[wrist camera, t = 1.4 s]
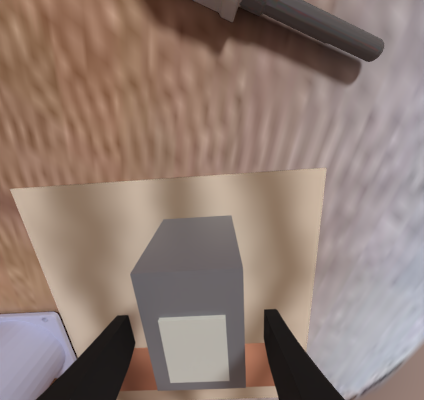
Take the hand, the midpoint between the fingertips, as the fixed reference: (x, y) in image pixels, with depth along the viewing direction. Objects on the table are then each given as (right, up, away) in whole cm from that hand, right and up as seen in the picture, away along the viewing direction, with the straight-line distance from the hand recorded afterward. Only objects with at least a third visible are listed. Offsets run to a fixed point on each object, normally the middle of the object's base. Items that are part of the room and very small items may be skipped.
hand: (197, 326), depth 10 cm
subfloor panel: (-2, -3, +7) cm, 8 cm away
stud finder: (0, +2, +5) cm, 5 cm away
